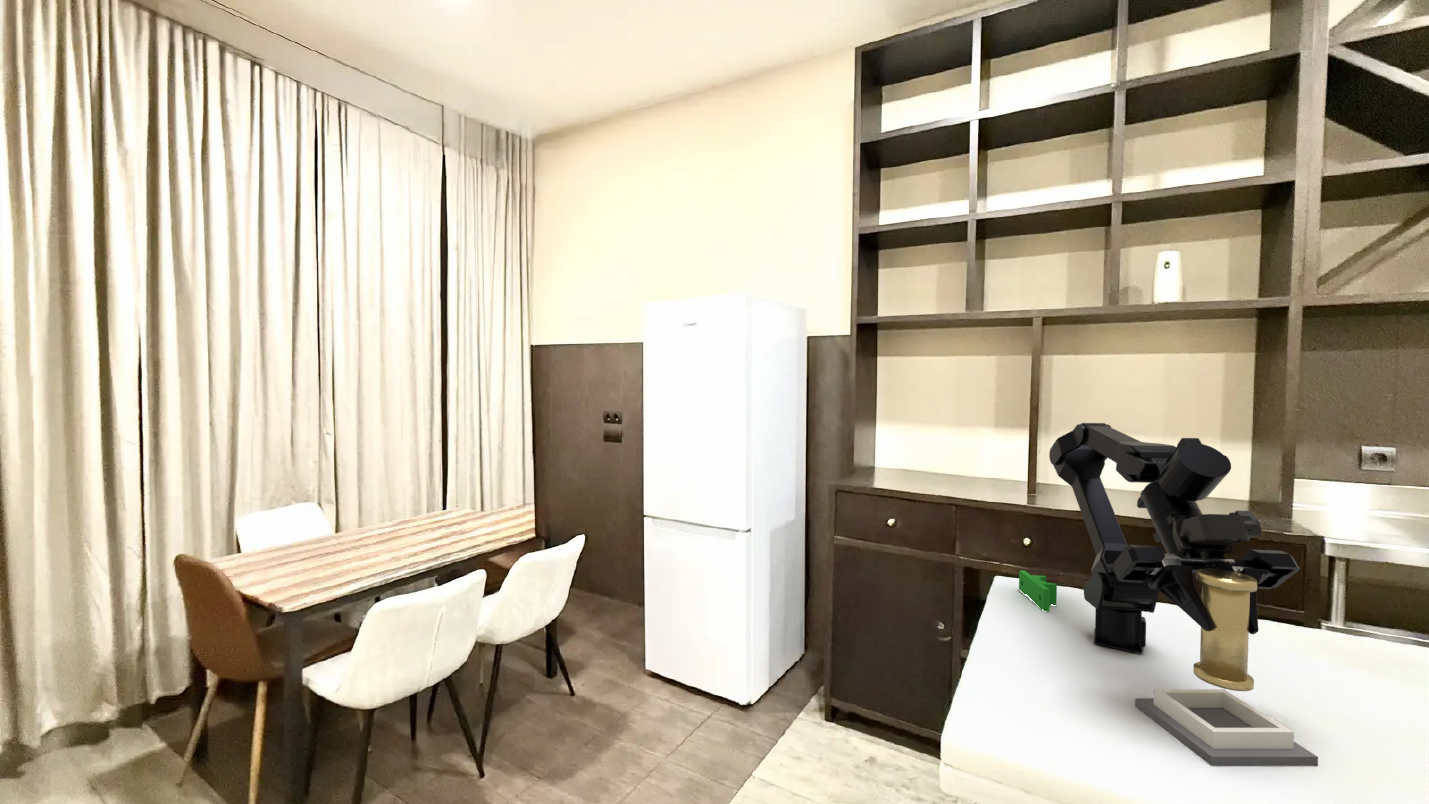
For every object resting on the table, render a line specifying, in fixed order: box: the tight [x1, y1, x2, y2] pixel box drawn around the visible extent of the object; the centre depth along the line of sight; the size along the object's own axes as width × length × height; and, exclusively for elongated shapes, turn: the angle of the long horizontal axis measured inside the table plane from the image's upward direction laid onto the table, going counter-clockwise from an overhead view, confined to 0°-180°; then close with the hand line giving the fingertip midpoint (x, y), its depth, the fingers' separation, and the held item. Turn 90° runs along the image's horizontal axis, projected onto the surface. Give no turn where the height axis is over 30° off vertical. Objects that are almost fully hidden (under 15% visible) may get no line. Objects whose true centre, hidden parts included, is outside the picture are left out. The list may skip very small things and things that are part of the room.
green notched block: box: [1018, 569, 1058, 611], centre depth 114 cm, size 11×4×5 cm, turn 174°
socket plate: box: [1134, 688, 1319, 766], centre depth 71 cm, size 12×12×3 cm
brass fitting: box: [1193, 568, 1258, 692], centre depth 70 cm, size 6×6×13 cm
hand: (1232, 631), depth 69 cm, fingers closed on brass fitting, 4 cm apart
